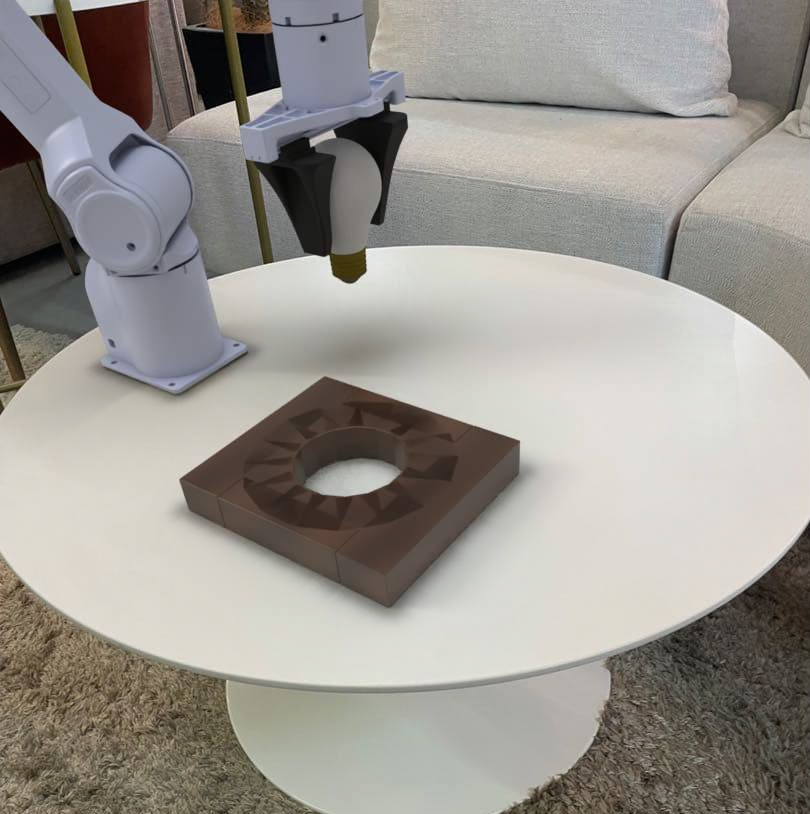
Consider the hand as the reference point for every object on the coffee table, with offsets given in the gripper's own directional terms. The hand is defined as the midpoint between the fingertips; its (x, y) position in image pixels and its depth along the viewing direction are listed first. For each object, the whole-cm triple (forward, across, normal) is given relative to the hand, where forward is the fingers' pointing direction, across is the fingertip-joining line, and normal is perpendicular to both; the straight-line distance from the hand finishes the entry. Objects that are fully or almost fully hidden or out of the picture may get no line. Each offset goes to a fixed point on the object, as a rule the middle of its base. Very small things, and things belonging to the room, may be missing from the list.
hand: (344, 237), depth 58 cm
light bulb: (+4, 0, 0) cm, 4 cm away
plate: (+9, -14, -11) cm, 20 cm away
